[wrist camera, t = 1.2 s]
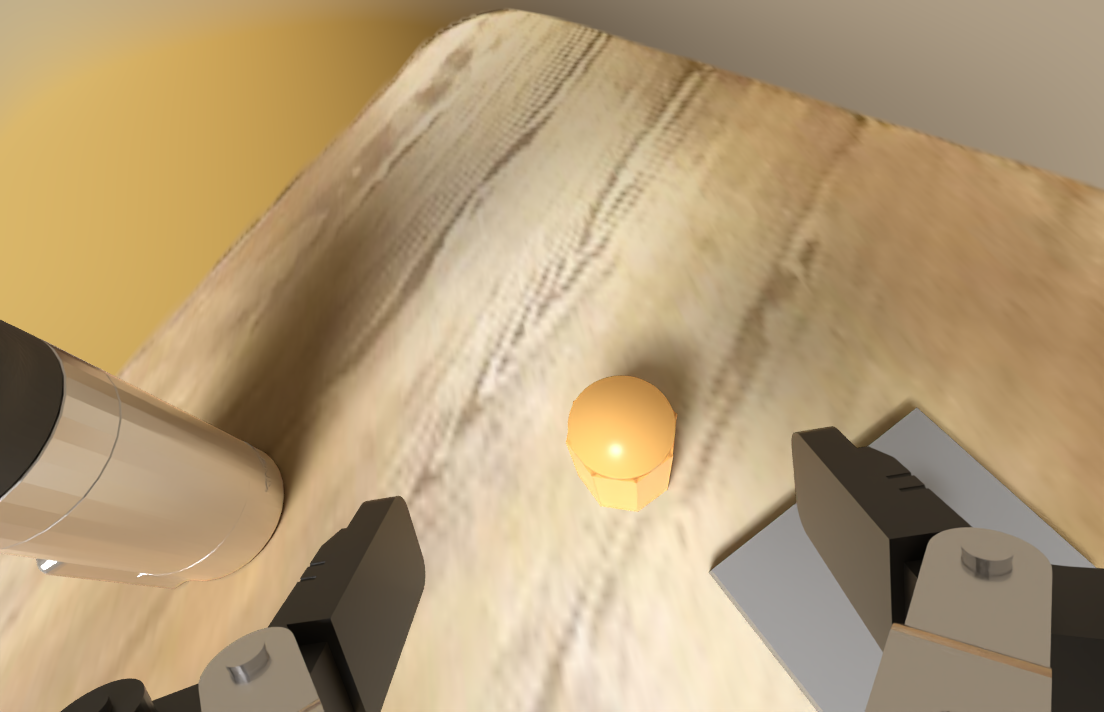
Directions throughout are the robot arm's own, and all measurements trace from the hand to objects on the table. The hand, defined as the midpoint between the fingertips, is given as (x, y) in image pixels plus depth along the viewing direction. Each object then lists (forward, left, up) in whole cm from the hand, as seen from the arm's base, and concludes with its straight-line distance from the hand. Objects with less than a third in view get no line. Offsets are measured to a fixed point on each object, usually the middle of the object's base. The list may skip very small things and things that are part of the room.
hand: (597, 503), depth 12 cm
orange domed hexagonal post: (+5, +6, -25) cm, 26 cm away
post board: (+13, -8, -25) cm, 29 cm away
